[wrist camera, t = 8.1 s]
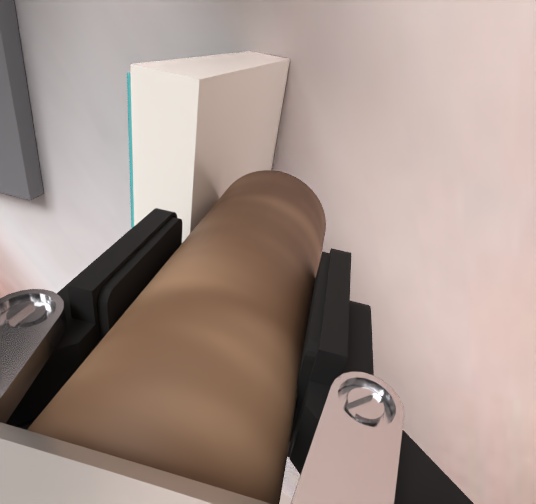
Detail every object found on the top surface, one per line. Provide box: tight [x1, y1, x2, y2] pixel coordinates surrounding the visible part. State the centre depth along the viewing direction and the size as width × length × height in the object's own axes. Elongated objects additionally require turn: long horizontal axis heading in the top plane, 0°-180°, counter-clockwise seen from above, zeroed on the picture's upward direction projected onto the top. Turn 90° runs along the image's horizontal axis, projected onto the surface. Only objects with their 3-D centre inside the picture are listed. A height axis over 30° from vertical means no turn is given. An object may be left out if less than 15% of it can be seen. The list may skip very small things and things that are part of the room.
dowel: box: [27, 170, 326, 504], centre depth 8 cm, size 4×4×14 cm
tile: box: [127, 51, 290, 243], centre depth 17 cm, size 2×9×10 cm, turn 170°
